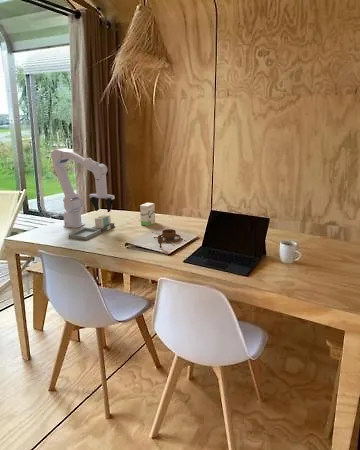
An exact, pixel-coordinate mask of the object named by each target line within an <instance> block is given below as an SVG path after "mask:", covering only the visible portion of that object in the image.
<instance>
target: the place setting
mask: <svg viewBox="0 0 360 450" xmlns="http://www.w3.org/2000/svg"><path fill="white" fill-rule="evenodd" d="M176 232H177V231H176V229H171V228H166V229H163V230H161V234H159V235H157V236H158V237H157V243H158V244H159V249H160V248H162V244H163V243H164V242H166V243H165V244H169V243H171V244H172V246H176V245H174V244H173V243H177V242H179V241H181V239H182V237H181V235H180V234H178V233H176ZM161 236H163V237H161ZM175 238H177V239H175ZM164 239H166V240H164ZM172 242H173V243H172Z"/></svg>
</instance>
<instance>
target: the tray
mask: <svg viewBox="0 0 360 450" xmlns="http://www.w3.org/2000/svg"><path fill="white" fill-rule="evenodd" d="M101 234H102V232H101V229H94V228H92V227H82V228H81V229H77V230H76V231H74V232H72V233H69V234H68V239H71V238H72V239H73V240H79V241H88V240H89V239H92V238H93V237H94V238H95V237H96V236H98V235H101Z"/></svg>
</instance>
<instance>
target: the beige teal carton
mask: <svg viewBox="0 0 360 450" xmlns="http://www.w3.org/2000/svg"><path fill="white" fill-rule="evenodd" d="M111 223H112V221H111V215H110V214H102V215H100V216H97V217H95V218H94V226H95V227H96V228H104V227H106V226H108V225H110V224H111Z"/></svg>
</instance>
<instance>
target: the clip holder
mask: <svg viewBox="0 0 360 450" xmlns="http://www.w3.org/2000/svg"><path fill="white" fill-rule="evenodd" d="M114 227H115V223H114V222H111V224H110V225H108V226H106V227H104V228H96V227H95V225H94V226H92V227H91V228H94V229H101V233H104V232H106V231H108V230H111V229H112V228H114Z"/></svg>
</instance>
